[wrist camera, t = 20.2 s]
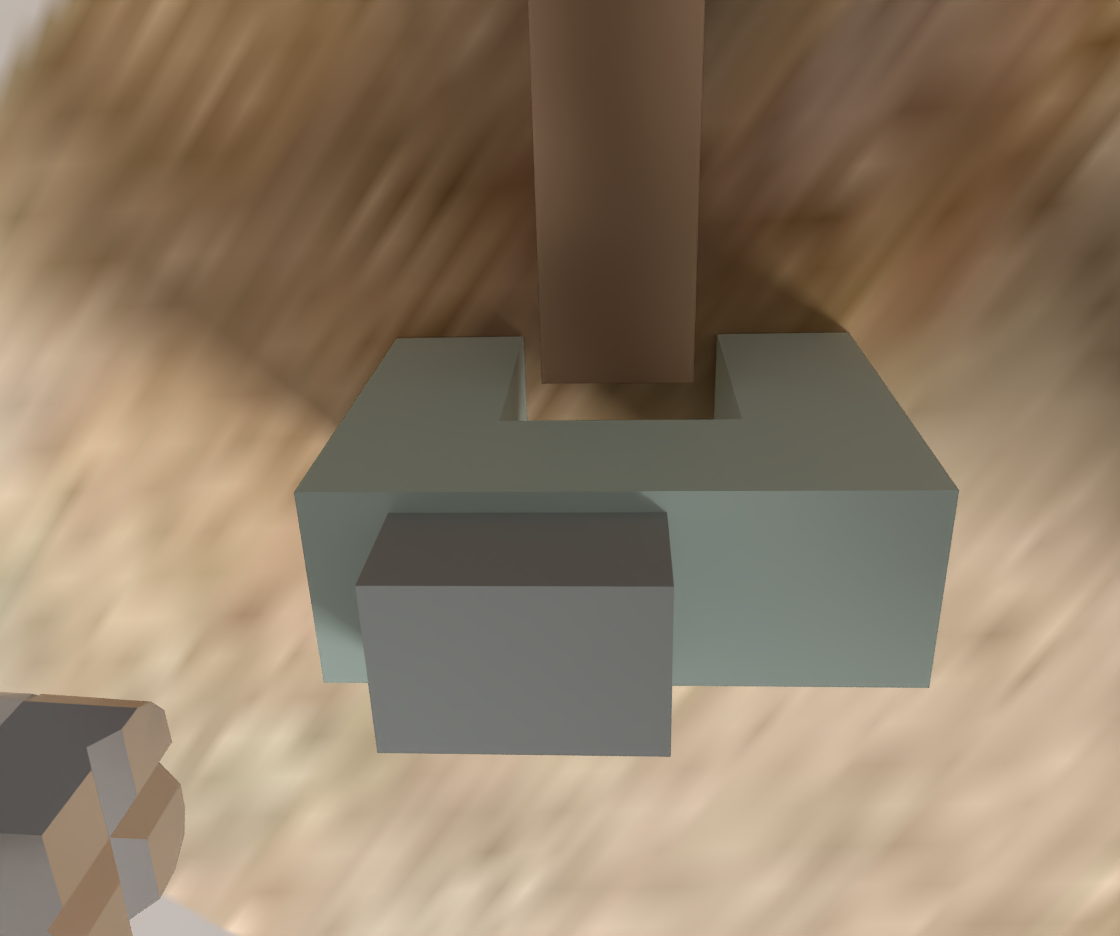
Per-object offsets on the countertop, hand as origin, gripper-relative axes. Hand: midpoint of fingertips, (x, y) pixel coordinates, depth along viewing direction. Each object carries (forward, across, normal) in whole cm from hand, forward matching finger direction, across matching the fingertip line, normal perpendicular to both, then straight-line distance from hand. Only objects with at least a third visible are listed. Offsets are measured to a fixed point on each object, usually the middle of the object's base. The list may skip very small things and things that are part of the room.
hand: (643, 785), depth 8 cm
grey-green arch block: (+24, +1, +6) cm, 24 cm away
